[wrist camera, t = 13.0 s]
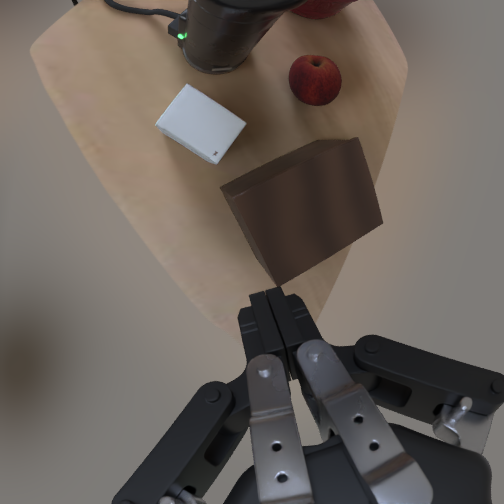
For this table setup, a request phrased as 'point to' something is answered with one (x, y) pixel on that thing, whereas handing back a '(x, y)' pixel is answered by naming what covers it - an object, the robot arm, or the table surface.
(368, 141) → the table surface
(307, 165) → the lid
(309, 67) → the apple
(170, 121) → the small box
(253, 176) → the chest
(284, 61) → the table surface
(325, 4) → the kitchen canister
